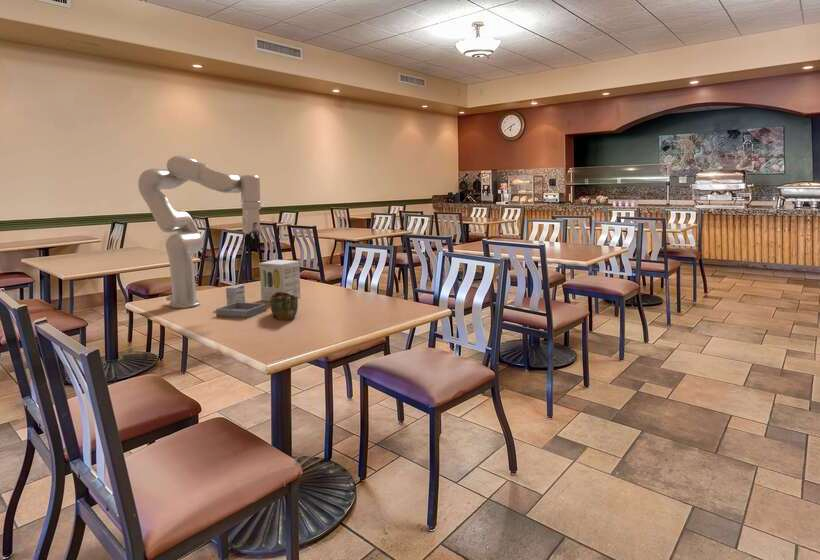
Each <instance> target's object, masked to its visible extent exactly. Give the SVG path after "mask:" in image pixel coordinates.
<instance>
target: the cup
mask: <svg viewBox="0 0 820 560" xmlns="http://www.w3.org/2000/svg"><path fill="white" fill-rule="evenodd" d="M298 299H299V298H297V296H296V295H290V294H288V293H284V292H276V293H274V294H272V295H271V297H270V301H269V302H270V309H271V314H272V315H273V318H274V319H275V320H278V321H291V320H294V319H295V318H296V315H297V313H298V305H299V300H298Z"/></svg>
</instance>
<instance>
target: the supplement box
mask: <svg viewBox="0 0 820 560" xmlns="http://www.w3.org/2000/svg"><path fill="white" fill-rule="evenodd" d="M300 273H301V272H300V261H299V260H292V259H291V260H289V259H273V260H267V261H262V262H259V274H260V275H259V277H260V278H259V279H260V296H261V297H260V298H261V301H266V302H267V301H268V302H270V297H271V295H272V294H274V293H276V292H284V293H288V294H290V295H296V296H297V298H298V299H299V298H301V274H300Z"/></svg>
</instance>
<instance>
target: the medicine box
mask: <svg viewBox="0 0 820 560" xmlns="http://www.w3.org/2000/svg"><path fill="white" fill-rule="evenodd" d="M225 295H226V306H227V305H230V304H233V303H236V302H244V303H246V296H245V295H246V294H245V285H244V284H236V285H233V286H228V287H227V288H225Z"/></svg>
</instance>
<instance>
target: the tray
mask: <svg viewBox="0 0 820 560" xmlns="http://www.w3.org/2000/svg"><path fill="white" fill-rule="evenodd" d="M215 311H216V312H215V313H216V314H215V315H216V317H219V318H220V317H221V318H232V319H243V318H244V319H243V320H245V319H247V318H248V319H250V318H252V316H253V317H255V316H258V315H261V314H262V312H263V313H265V312H267V304H266V303H255V302H245V303H244V302H236V303H233V304H230V305H227V304H226V305H225V306H221V307H218V308H216V309H215ZM257 314H258V315H257ZM248 319H247V320H248Z"/></svg>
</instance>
